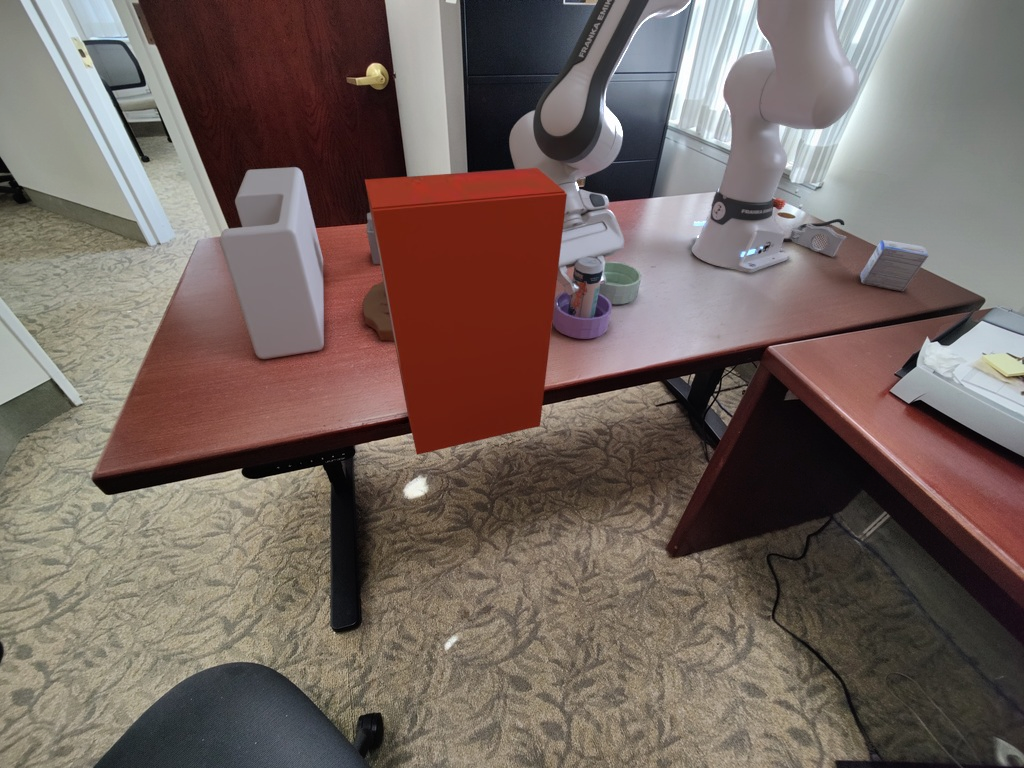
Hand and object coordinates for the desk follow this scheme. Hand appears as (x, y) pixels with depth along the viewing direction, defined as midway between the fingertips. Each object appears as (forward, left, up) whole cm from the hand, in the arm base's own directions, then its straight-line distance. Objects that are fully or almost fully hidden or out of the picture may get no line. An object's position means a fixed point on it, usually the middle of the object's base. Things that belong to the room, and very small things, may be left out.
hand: (588, 288), depth 75 cm
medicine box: (-71, +5, -8) cm, 72 cm away
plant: (+28, -14, -8) cm, 32 cm away
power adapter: (+32, -38, -8) cm, 50 cm away
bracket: (+49, -26, -8) cm, 56 cm away
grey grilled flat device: (-71, -14, -8) cm, 73 cm away
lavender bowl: (0, -1, -8) cm, 8 cm away
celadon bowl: (-11, -9, -8) cm, 17 cm away
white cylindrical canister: (0, -1, -7) cm, 7 cm away
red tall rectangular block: (+26, +17, -8) cm, 32 cm away
